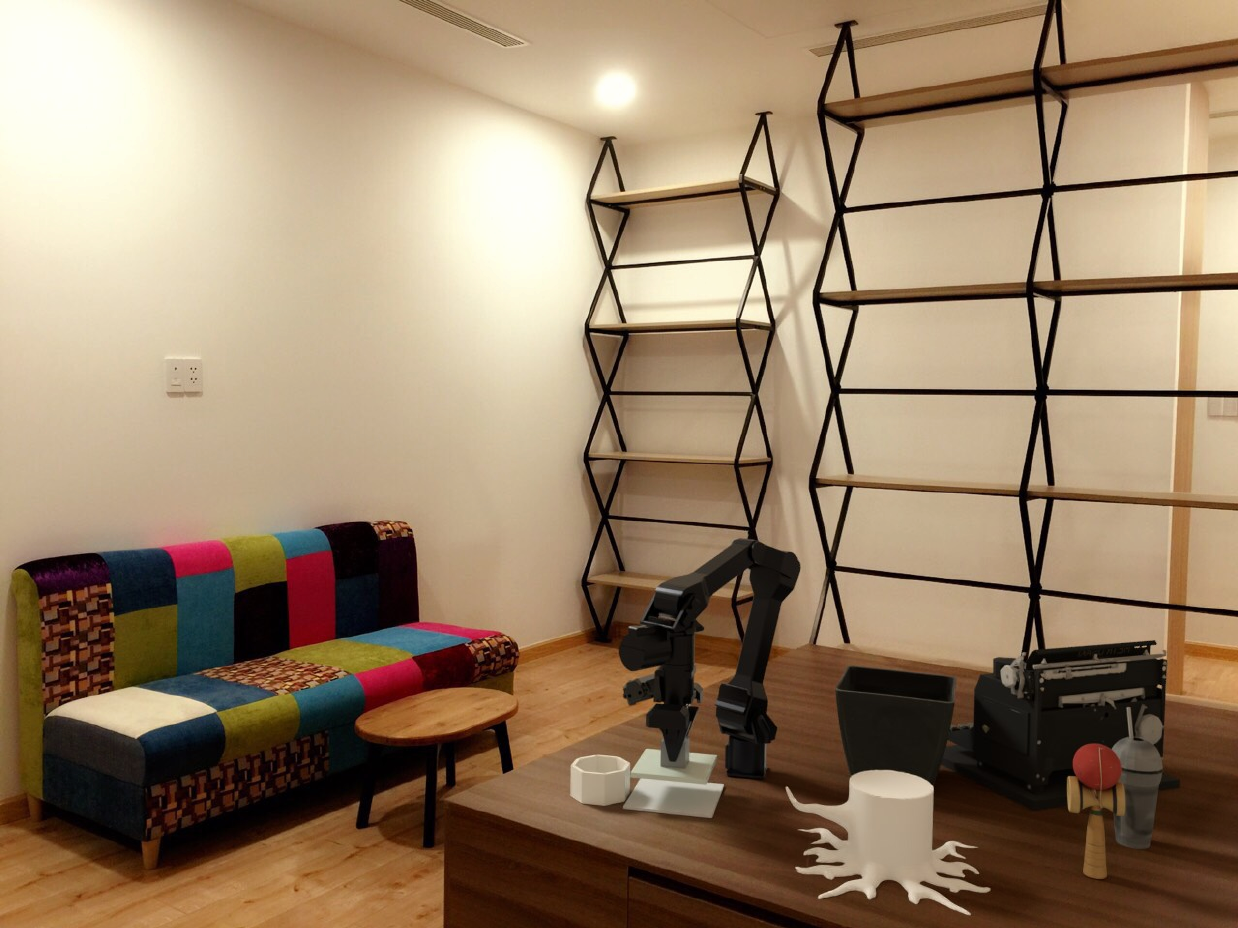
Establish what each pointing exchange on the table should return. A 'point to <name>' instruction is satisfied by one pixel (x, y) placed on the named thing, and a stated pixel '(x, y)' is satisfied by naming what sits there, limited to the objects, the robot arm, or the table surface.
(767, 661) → the robot arm
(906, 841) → the tree stump
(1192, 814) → the table surface
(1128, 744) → the beverage cup
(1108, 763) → the kendama
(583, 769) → the bowl
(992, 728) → the typewriter
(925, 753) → the flower pot
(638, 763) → the cover sheet
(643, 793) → the mat
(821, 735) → the table surface
